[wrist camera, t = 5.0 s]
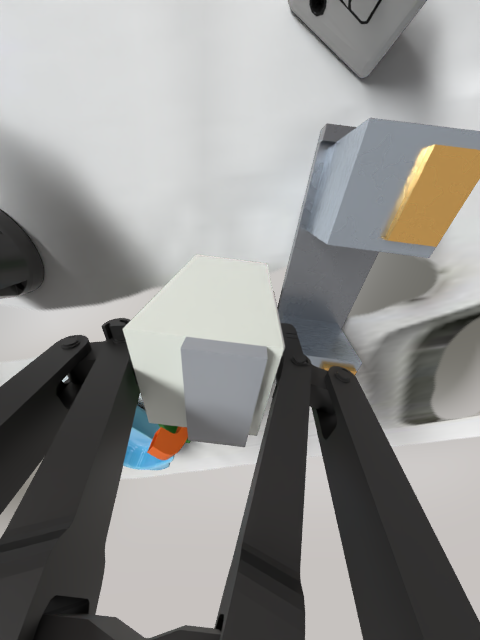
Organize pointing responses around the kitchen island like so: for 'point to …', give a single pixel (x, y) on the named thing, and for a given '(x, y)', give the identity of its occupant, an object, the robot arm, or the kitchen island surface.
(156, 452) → the motor
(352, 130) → the rail
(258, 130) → the kitchen island surface
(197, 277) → the block
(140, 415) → the casserole dish
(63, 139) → the kitchen island surface
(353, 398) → the robot arm
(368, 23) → the electrical switch
